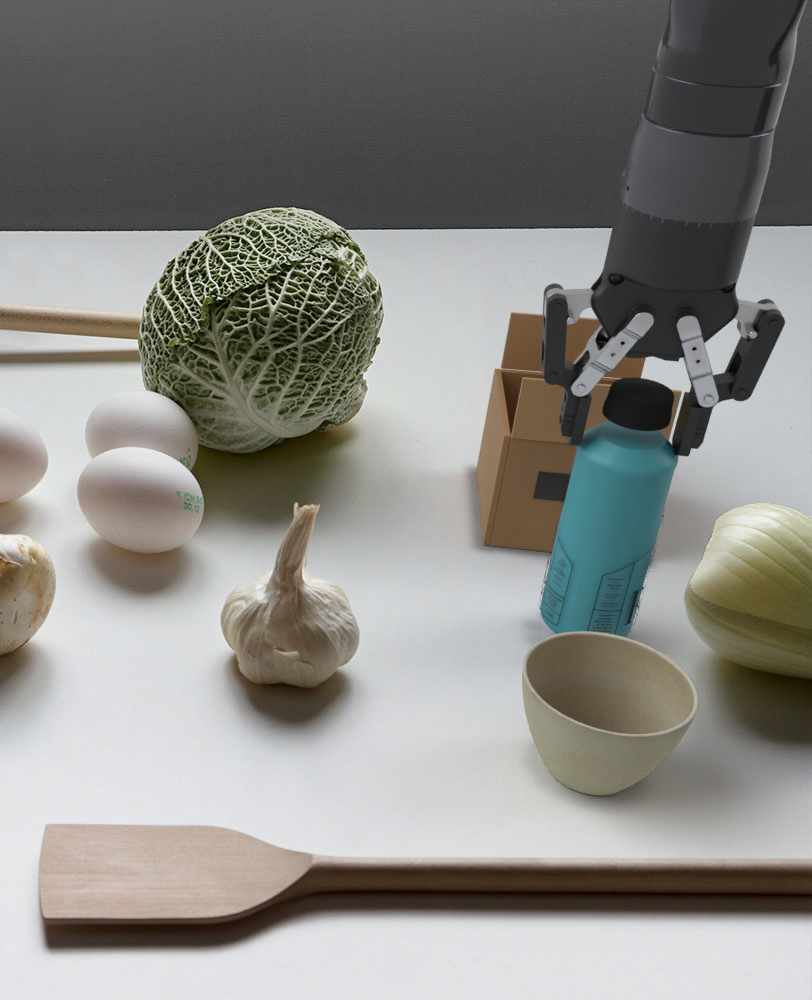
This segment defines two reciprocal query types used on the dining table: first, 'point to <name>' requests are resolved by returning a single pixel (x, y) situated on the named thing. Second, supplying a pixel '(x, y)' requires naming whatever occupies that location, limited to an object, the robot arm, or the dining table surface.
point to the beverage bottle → (611, 513)
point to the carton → (534, 437)
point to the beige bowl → (604, 708)
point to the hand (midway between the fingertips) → (626, 444)
